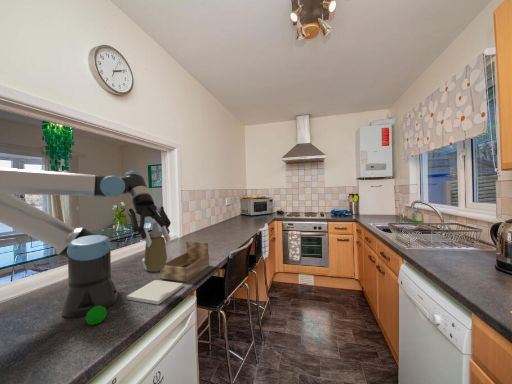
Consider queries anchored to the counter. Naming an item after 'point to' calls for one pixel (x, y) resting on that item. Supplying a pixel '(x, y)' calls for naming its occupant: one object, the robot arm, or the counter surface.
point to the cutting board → (155, 292)
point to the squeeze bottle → (155, 251)
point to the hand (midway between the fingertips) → (159, 242)
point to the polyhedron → (96, 315)
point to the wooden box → (193, 256)
